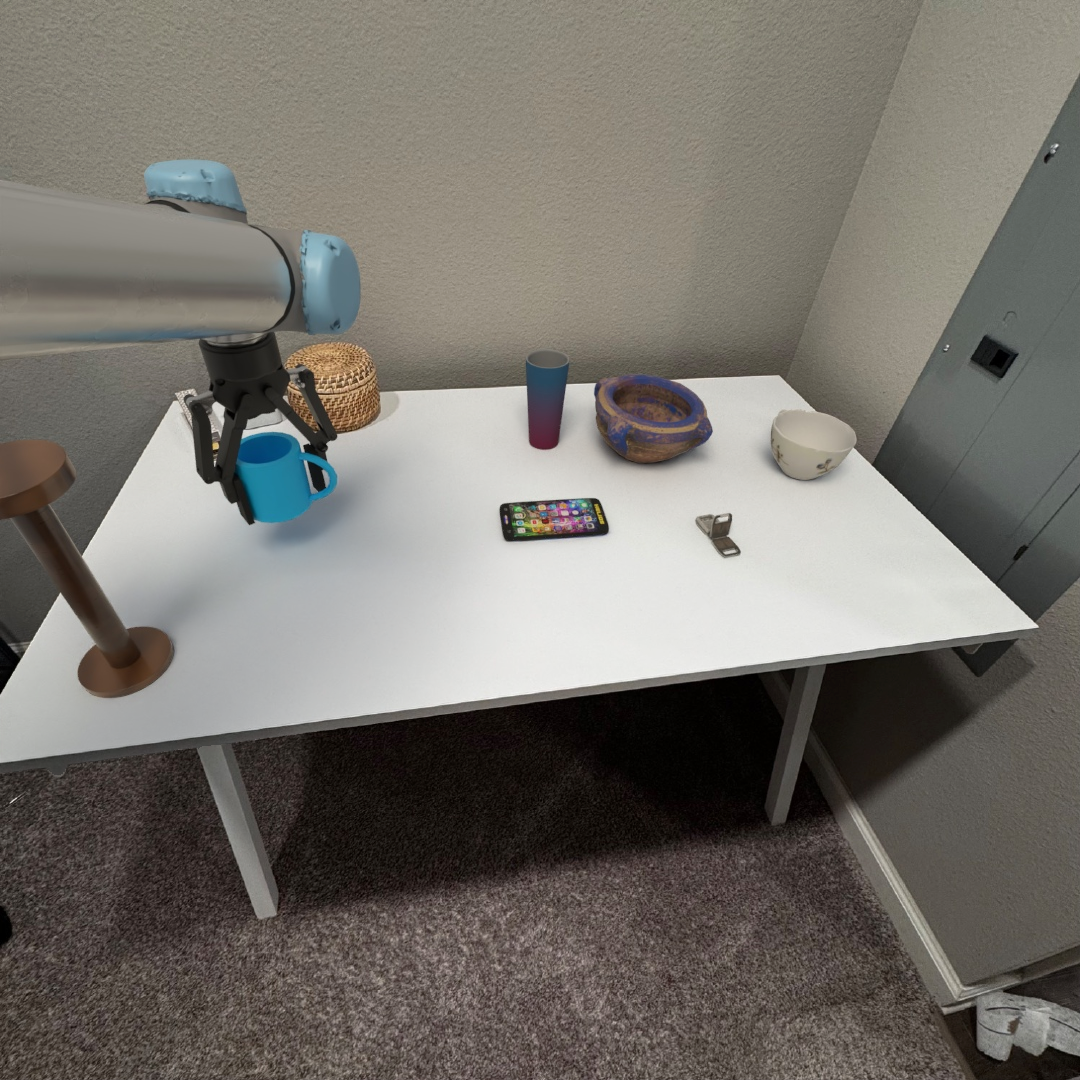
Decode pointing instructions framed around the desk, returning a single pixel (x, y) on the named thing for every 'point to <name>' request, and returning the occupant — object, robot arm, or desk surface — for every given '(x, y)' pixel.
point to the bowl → (649, 417)
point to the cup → (545, 395)
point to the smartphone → (553, 519)
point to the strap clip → (718, 532)
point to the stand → (76, 571)
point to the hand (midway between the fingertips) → (285, 504)
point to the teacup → (810, 442)
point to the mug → (278, 476)
